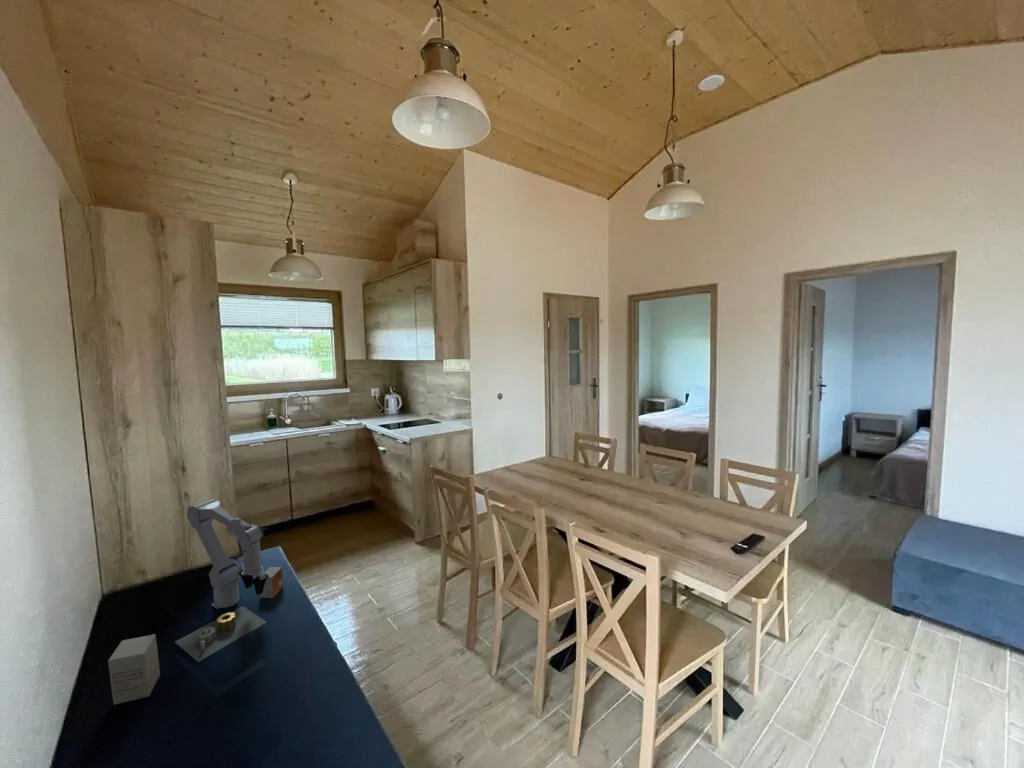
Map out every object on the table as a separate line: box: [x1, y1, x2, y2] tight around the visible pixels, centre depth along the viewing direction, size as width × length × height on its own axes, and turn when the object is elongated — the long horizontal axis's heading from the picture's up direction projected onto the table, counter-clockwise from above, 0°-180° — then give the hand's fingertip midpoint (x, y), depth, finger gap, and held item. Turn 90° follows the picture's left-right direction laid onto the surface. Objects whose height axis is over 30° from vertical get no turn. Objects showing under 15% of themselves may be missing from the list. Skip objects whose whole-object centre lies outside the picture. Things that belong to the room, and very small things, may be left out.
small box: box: [259, 566, 284, 599], centre depth 180 cm, size 8×6×10 cm
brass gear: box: [216, 611, 236, 633], centre depth 159 cm, size 6×6×4 cm
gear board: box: [174, 605, 267, 663], centre depth 157 cm, size 17×23×4 cm
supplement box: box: [107, 633, 161, 705], centre depth 133 cm, size 9×9×15 cm
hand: (254, 590), depth 168 cm, fingers open, 7 cm apart
